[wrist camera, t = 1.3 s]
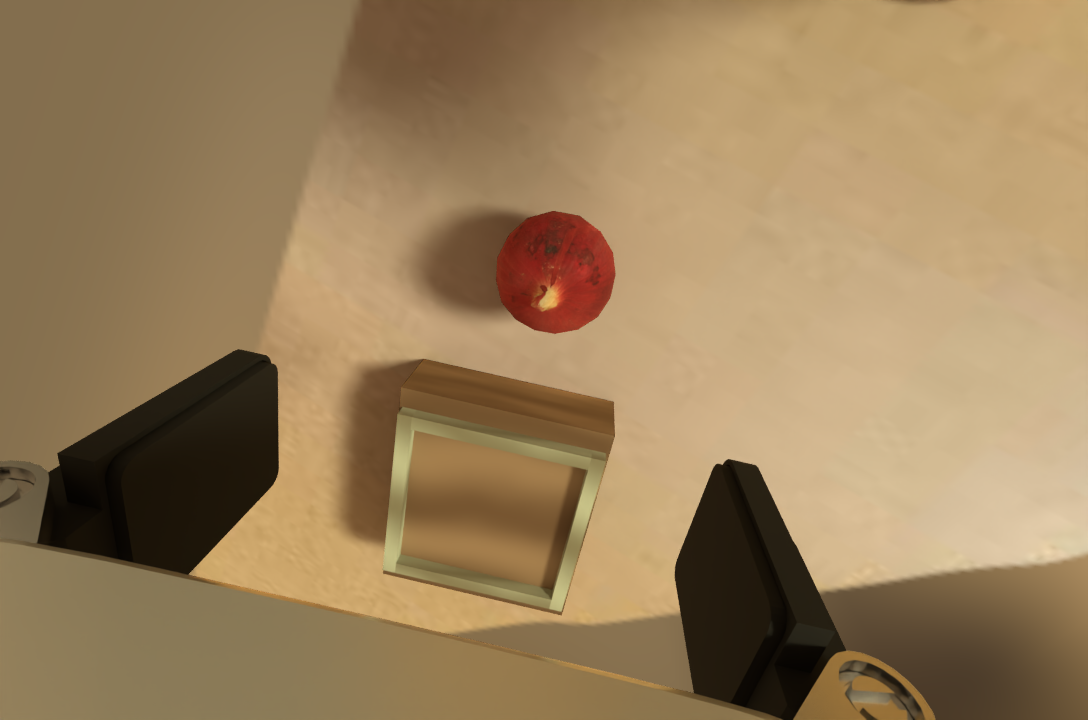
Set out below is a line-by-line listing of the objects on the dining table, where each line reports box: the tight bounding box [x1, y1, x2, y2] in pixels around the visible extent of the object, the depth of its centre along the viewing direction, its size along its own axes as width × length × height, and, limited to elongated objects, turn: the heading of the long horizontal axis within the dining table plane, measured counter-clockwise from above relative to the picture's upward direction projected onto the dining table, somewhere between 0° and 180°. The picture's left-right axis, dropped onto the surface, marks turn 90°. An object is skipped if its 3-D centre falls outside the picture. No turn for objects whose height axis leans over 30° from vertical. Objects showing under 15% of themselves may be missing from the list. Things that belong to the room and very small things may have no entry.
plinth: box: [383, 359, 615, 615], centre depth 33 cm, size 14×12×5 cm
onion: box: [496, 211, 615, 334], centre depth 26 cm, size 6×6×8 cm
